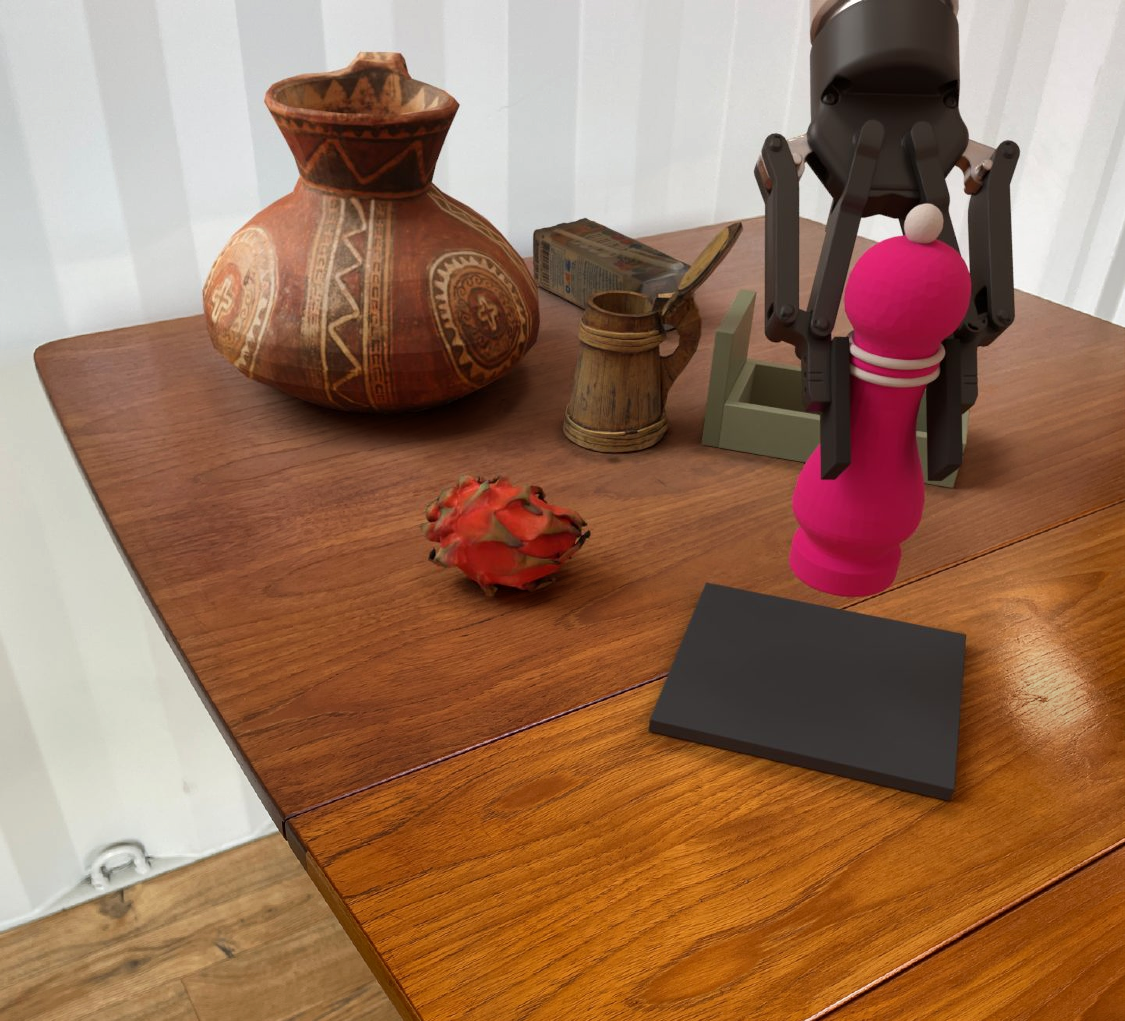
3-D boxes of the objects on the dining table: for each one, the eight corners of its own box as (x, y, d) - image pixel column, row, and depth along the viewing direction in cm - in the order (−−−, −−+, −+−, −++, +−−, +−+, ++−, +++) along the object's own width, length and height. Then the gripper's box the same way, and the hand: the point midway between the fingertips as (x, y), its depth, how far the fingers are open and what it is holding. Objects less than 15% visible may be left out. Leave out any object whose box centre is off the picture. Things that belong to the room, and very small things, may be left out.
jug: (586, 423, 97) (601, 106, 80) (247, 474, 88) (185, 130, 72) (480, 306, 118) (475, 34, 101) (197, 338, 109) (139, 45, 92)
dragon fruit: (412, 589, 79) (572, 610, 81) (412, 584, 71) (590, 607, 73) (425, 472, 79) (587, 495, 80) (426, 453, 70) (606, 479, 72)
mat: (962, 645, 74) (966, 633, 73) (950, 801, 62) (954, 789, 62) (704, 593, 77) (705, 581, 77) (648, 731, 66) (649, 719, 65)
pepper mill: (895, 615, 61) (1003, 237, 47) (768, 587, 62) (838, 215, 49) (910, 551, 66) (1012, 194, 52) (793, 527, 67) (862, 175, 54)
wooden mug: (713, 463, 92) (743, 240, 80) (556, 448, 93) (563, 226, 81) (716, 418, 99) (744, 205, 87) (569, 404, 100) (577, 193, 88)
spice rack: (958, 435, 98) (991, 324, 91) (952, 488, 90) (988, 371, 84) (725, 397, 102) (740, 288, 96) (701, 445, 95) (715, 330, 88)
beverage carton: (637, 341, 112) (642, 275, 107) (528, 286, 123) (529, 224, 118) (694, 325, 115) (701, 260, 111) (583, 273, 126) (586, 213, 122)
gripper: (1017, 88, 61) (1027, 495, 60) (699, 78, 60) (703, 491, 59) (1088, -12, 53) (1100, 451, 52) (726, -25, 53) (731, 446, 51)
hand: (890, 471), depth 56 cm, fingers closed on pepper mill, 5 cm apart
